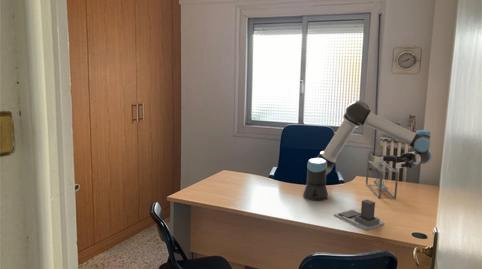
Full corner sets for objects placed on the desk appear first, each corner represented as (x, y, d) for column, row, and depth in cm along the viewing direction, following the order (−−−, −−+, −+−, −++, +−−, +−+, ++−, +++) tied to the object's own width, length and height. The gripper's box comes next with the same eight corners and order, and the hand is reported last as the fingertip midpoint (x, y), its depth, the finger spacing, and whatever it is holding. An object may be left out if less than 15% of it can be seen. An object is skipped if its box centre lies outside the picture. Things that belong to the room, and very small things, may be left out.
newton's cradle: (365, 184, 257) (367, 159, 254) (380, 185, 256) (382, 160, 253) (378, 199, 227) (381, 171, 224) (396, 199, 227) (398, 171, 224)
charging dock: (333, 216, 199) (334, 209, 198) (352, 211, 206) (352, 205, 205) (365, 230, 181) (365, 223, 180) (383, 224, 188) (384, 218, 188)
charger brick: (360, 221, 190) (361, 200, 188) (365, 219, 192) (367, 199, 190) (368, 224, 186) (369, 203, 184) (373, 223, 188) (375, 201, 186)
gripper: (430, 170, 197) (405, 175, 186) (390, 160, 218) (365, 164, 207) (432, 157, 196) (407, 161, 185) (391, 148, 217) (367, 151, 206)
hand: (385, 163), depth 196 cm, fingers open, 13 cm apart
